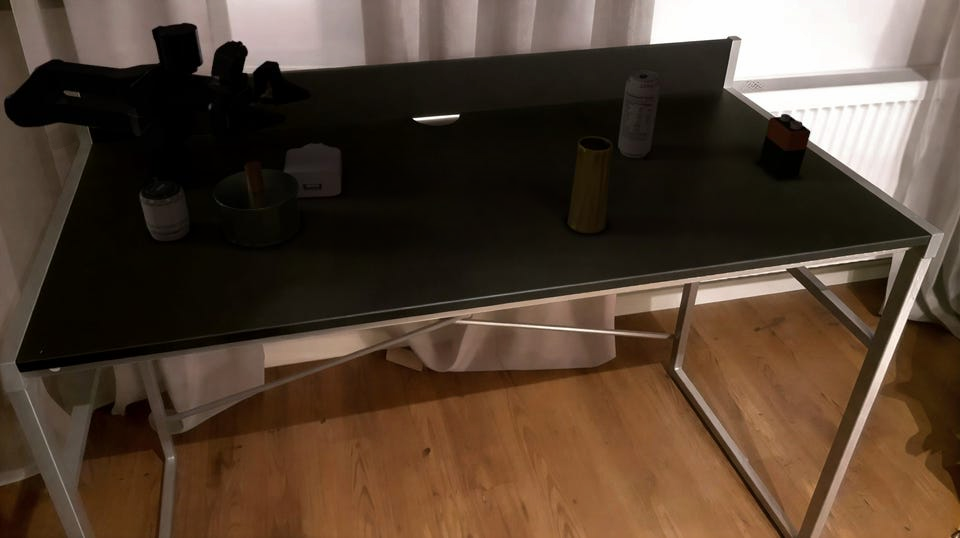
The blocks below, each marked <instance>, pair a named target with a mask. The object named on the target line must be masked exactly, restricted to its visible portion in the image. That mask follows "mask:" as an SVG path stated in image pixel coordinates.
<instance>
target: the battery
mask: <svg viewBox="0 0 960 538" xmlns="http://www.w3.org/2000/svg"><path fill="white" fill-rule="evenodd" d="M811 132H812V131H811V130H810V129H809V128H807V127H806V126H805V125H803V122H802V121H800V120H797V119H795V118H794V117H792V116H791V115H790V114H788V113H782V114H781V115H780V116H774V117H772V116H771V117H770V118H769V120H768V124H767V128H766V133H765V137H764V140H763V145H762V148H761V153H760V156H759V164H760V165H761V166H762V167H763V168H765V169H766V170H767V171H768V172H769V173H770V174H772V176H774V177H775V178H776V179H778V180H781V179H792V178H798V177H799V175H800V172H801V168H802V164H803V161H804V159H805V155H806V150H807V147H808V142H809V140H810V136H811Z"/></svg>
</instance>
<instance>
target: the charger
mask: <svg viewBox="0 0 960 538" xmlns="http://www.w3.org/2000/svg"><path fill="white" fill-rule="evenodd" d="M341 151H342V150H341V149H340V148H337V147H334V146H333V147H332V146H329V145H326V144H323V143H322V142H319V143H312V142H311V143H308V144H305V145H304V146H301V147H300V148H299V147H298V148H291V149H289V150H287V151H286V155H285V161H284V165H283V172H286V173H288V174H290V175H292V176H293V177H295V178H296V180H297V181H298V184H299V191H298V193H297V198H317V197H318V198H319V197H320V198H321V197H335V196H338V195H340V194H341V193H342V180H343V179H342V178H343V162H342V152H341Z"/></svg>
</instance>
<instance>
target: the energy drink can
mask: <svg viewBox="0 0 960 538" xmlns="http://www.w3.org/2000/svg"><path fill="white" fill-rule="evenodd" d="M660 92H661V83H660V80H659V74H658V73H656V72H655V71H652V70H647V69H637V70H634V71H631V73H630V76H629V78H628V79H627V80H626V82H625V90H624V97H623V104H622V112H621V119H620V125H619V127H620V128H619V136H618V142H617V147H618V148H617V149H619V151H620V154H622V155H623V156H625V157H628V158H631V159H632V158H633V159H639V158H641V159H642V158H644V157H646V156H647V154H648V153H650V151H651V150H652V142H653V136H654V130H655V123H656V119H657V118H656V117H657V112H658V111H657V110H658V104H659V97H660Z"/></svg>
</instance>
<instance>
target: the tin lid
mask: <svg viewBox="0 0 960 538" xmlns="http://www.w3.org/2000/svg"><path fill="white" fill-rule="evenodd" d="M243 165H244V166H243V167H244V170H243V171H239V172H237V173H233V174H231V175H229V176H227V177H225V178H223V179H222V180H220V181H219V182H218V183H217V184H216V186H214V189H213V199H214V201H215V203H216V204H217V205H218V204H219V205H220V206H221V207H223V208H225V209H228V210H231V211H236V212H261V211H266V210H271V209H274V208H277V207H280V206H282V205H284V204H286V203H288V202H289V201H291V200H292V199H293V198H294V197H295V196H296V195H297V193H298V191H299V184H298V181H297V180H296V178H295V177H293V176H292V175H290V174H288V173H286V172H284V170H278V169H273V168H262V163H261V162H260V161H256V160H252V161H247V162H245V164H243Z"/></svg>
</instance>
